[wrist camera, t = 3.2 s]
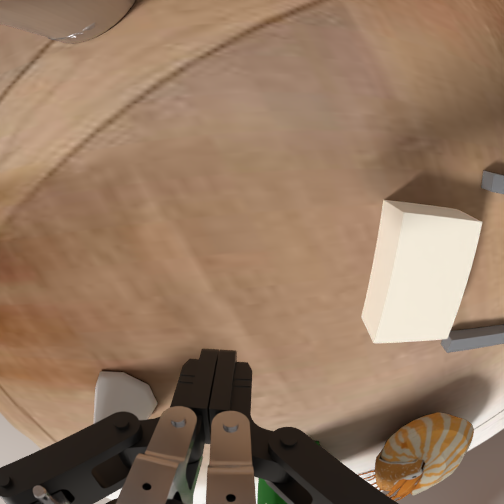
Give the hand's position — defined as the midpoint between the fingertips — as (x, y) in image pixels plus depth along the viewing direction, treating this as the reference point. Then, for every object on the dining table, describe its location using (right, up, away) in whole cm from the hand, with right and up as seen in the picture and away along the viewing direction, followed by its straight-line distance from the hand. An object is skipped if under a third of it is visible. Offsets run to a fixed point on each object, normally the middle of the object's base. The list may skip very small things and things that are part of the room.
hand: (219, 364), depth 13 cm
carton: (+14, +4, +10) cm, 18 cm away
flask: (-12, -10, +16) cm, 23 cm away
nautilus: (+21, -21, +20) cm, 36 cm away
